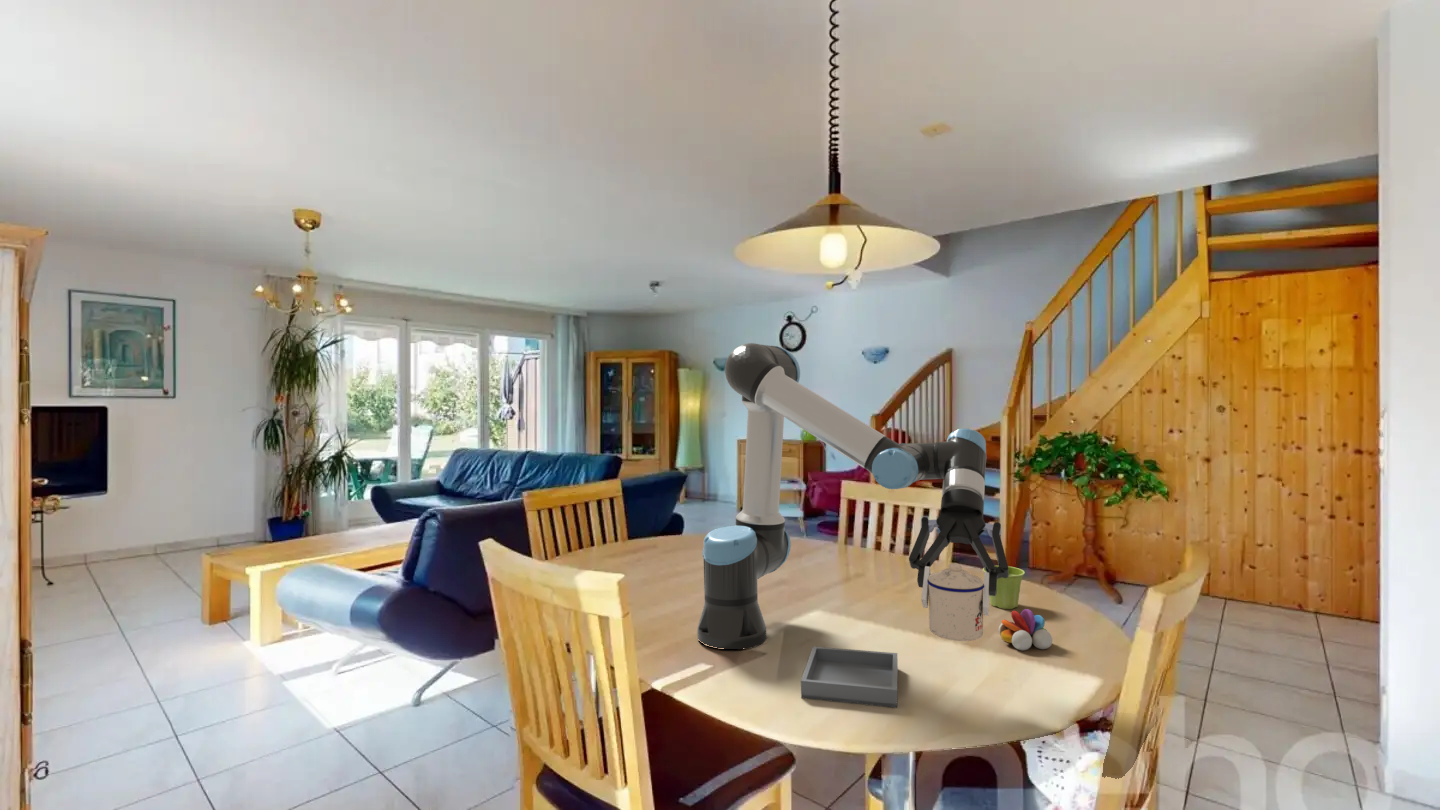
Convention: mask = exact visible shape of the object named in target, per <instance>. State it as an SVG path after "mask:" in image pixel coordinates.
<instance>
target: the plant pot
mask: <svg viewBox="0 0 1440 810" xmlns="http://www.w3.org/2000/svg"><path fill="white" fill-rule="evenodd" d="M995 567H999V565H995ZM1008 571H1009V576H1008V577H1007V578H1003V577H1001V578H998V580H997V594H996V596H990V595H989V603H990V605H991V606H992V607H998V608H999V609H1002V610H1008V609H1009V610H1013V609H1015V608H1018V606H1019V605H1018V604H1019V598H1020V591H1021V584H1022V581H1023V577H1024V576H1025V574H1026V572H1025V570H1023V569H1021V568H1018V567H1014V566H1009V565H1008ZM982 572H986V570H985V568H984V567H983V568H982Z"/></svg>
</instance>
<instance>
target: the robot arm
mask: <svg viewBox="0 0 1440 810" xmlns="http://www.w3.org/2000/svg"><path fill="white" fill-rule="evenodd" d="M725 361H726V362H725V365H724V374H725V378H726V380H727V384H729V386H730V387H731V389H733V390H734V391H735V392H736V393H737V394H738V395H740V396H741V403H742V404H743V405H744V406H745V408H746V409H747V418H746V419H747V421H746V423H747V424H746V441H745V442H746V443H745V460H744V461H745V464H744V477H743V478H744V481H743V482H744V483H743V499H742V501H743V502H742V509H741V511H739V513H737V515H736V516H735V525H728V526H724V527H718V528H715V529H713V530H711V531H709V532H708V533H707V534H706V535H705V537H704V538H703V548H702V558H703V580H704V581H703V583H704V584H703V586H704V587H703V589H704V590H703V591H704V604H703V608H702V611H701V614H700V618H699V621H698V625H697V631H696V632H697V633H696V634H697V640H698V639H699V640H700V641H701V642H703V643H704V644H707V645H709V646H713V647H717V648H724V649H742V650H744V649H743V648H748V649H752V648H755V647H758V646H760V645H762V644H764V642H765V641H767V635H768V634H767V625H766V622H765V619H764V617H763V613H762V610H761V607H760V605H759V601H758V600H759V599H758V580H759V579H760V578H762V577H764V576H767V574H771V573H774V572H775V571H777V570H778V569H779V568H780V567H781V566H783V565H784V563H785V562H786V561H787V559H788V557H789V556H790V552H791V547H792V546H791V545H792V544H791V537H790V534H789V532H787V531H786V527H785V526H786V525H785V524H786V522H785V521H786V519H785V517H784V516H783V515H782V514H781V513H780V498H781V496H780V495H781V480H782V478H781V477H782V463H783V445H784V444H783V441H784V424H785V423H784V422H785V419H787V420H788V421H790V422H791V423H793V424H795V425H797V426H798V427H799V428H801V429H803V430H804V431H806V432H807V433H809V434H810V435H812V436H813V437H815V438H817V439H818V440H820V441H821V442H823V443H824V444H825V445H827V446H829V447H830V448H832V449H834V450H835V451H837V452H838V453H840V454H842V455H843V456H845V457H846V458H848V459H849V460H851V461H853V462H854V463H855V464H857V465H859V466H860V467H861V468H863V469H865V470H867V471H868V472H869V473H870V474H872V475H873V478H874V480H875V482H877V484H879V485H880V486H881V487H883V488H885V489H888V490H900V489H905V488H908V487H909V486H911V485H912V484H914V483H916V482H918V481H920V480H943V481H942V489H941V499H940V500H941V501H940V502H941V503H940V511H939V516H938V517H937V518H936V519H929V518H928V517H926V516H923V517H921V528H920V530H919V533H918V535H917V538H916V540H915V542H914V545H913V547H912V550H911V552H910V555H909V557H908V561H909V565H910V568H911V569H915V570H918V571H917V580H916V581H917V586H918V588H922V589H921V603H922V608H926V609H927V608H928V609H929V584H928V582H927V580H928V577H929V576H930V575H931V574H932V573H931V567H932V565H933V564H934V563H935V562H936V560H937V559H938V557H939V556H940V555H941V553H942V552H943V551H944V549H945V548H947V547H948V546H949V544H951V543H952V544H958V543H961V544H964V545H969V544H970V545H971V546H972V547H971V548H972V549H973V550H974V552H975V553H976V555H977V557H978V558H979V561H980V563H981V564H982V567H983V568H985V570H986V572H984V573H983V574H984V575H983V583H984V588H983V616H986V617H987V616H989V615H990V614H989V611H990V596H996V594H997V580H998V578H1001V577H1003V578H1007V577H1008V576H1009V571H1008V566H1009V565H1008V561H1007V557H1006V553H1005V549H1004V546H1003V542H1002V539H1001V536H1002V525H1001V523H1000V522H998V521H995V522H994V523H987V522H985V519H984V512H985V511H984V507H985V506H984V505H985V502H984V500H985V488H986V487H985V486H986V481H985V480H986V467H987V464H986V463H987V460H988V459H987V458H988V457H987V441H986V438H985V437H984V436H983V434H982V433H980V432H978V431H977V430H975V429H971V428H958V429H957V430H953V431H951V433H949V435H948V437H947V438H946V441H937V442H919V443H918V442H916V443H915V442H914V443H912V442H911V443H905V442H904V443H903V442H901V443H898V442H896V441H895V440H892V438H889V437H888V436H886V435H884V434H883V433H882V432H880V431H878V430H876V428H875V429H874V428H873V427H871V426H870V425H868V424H866V423H865V422H863V421H862V420H860V419H858V418H857V417H855V416H853V415H852V414H850V413H849V412H847V411H845V410H844V409H842V408H841V407H838V406H837V405H835V404H834V403H832V402H831V401H829V400H827V399H826V398H824V397H822V396H821V395H819V394H817V393H816V392H814V391H812V390H811V389H809V388H808V387H806V386H804V385H803V384H801V383H799V382H800V377H801V369H800V365H799V362H798V360H797V358H796V357H795V356H794V355H793V353H792V352H790V351H789V350H787V349H785V348H782V347H780V346H778V345H777V346H775V345H767V344H760V343H756V342H755V343H754V342H750V343H749V342H747V343H744V344H740V345H739V346H737V347H736V348H734V349H733V350H732V351H731V352H730V354H729V355H728V357H727V358H726V360H725ZM935 528H937V529H938V530H939V533H938V536H937V537H936V539H935V540H934V541H933V543H932V544H931V545H930V547H929V548H928V549H927V550H926V552H925V553H924V551H925V548H926V546H927V544H928V541H929V539H930V534H931V533H933V532H934V530H935ZM985 531H986V532H987V534H988V536H989V537H990V538H992V545H993V548H994V552H995V556H996V560H997V564H998V565H997V566H999V567H995V566H996V565H995V564H994V562H993V560H992V558H991V556H990V555H989V553H988V551H987V549H986V548H985V546H984V544H983V542H982V540H981V538H980V536H981V535H982V534H983V533H984V532H985ZM923 553H924V555H923ZM989 595H990V596H989ZM751 647H752V648H751Z"/></svg>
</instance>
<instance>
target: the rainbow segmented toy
mask: <svg viewBox="0 0 1440 810" xmlns="http://www.w3.org/2000/svg"><path fill="white" fill-rule="evenodd" d="M1010 614H1011V618H1012V620H1013V621H1009V620H1007V619H1002V620H1001V623H1000V624H999V626H998V633H999V635H1000V638H1001V640H1003V641H1004V642H1006V643H1009V644H1012V646H1013V647H1014V648H1015V649H1016V650H1019V651H1028V650H1029V649H1030V648H1031V647H1032V644H1033V646H1034V647H1035V648H1037V649H1039V650H1047V649H1049V648H1050V647H1051V646H1052V644H1053V637H1052V634H1051V633H1050V632H1049V631H1048V630H1047V629H1046V628H1044V627H1045V624H1046V622H1045V621H1046V620H1045V618H1044V617H1043V616H1042V615H1040V614H1036V615H1034V612H1033V611H1032V609H1028V608H1027V609H1026V608H1024V609H1023V610H1022V611H1021V612H1018V611H1016V610H1012V611H1011V612H1010Z"/></svg>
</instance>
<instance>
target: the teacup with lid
mask: <svg viewBox="0 0 1440 810" xmlns="http://www.w3.org/2000/svg"><path fill="white" fill-rule="evenodd" d="M927 582H928V584H929V600H928V628H929V630H930V633H932V634H934V635H935V636H937V637H939V638H943V639H946V640H950V641H957V642H970V641H976V640H979V639H980V638H982V636H983V635H984V614H983V591H984V580H982V578H981V577H979V576H976V575H975V574H972V573H970V572H968V571H966V570H965V569H962V565H961V564H960V563H957V562H951V563H950V564H949V565H948V568H944V569H943V570H941V571H937V572H934V573H931V575H930V576H929V577H928V580H927Z"/></svg>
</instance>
